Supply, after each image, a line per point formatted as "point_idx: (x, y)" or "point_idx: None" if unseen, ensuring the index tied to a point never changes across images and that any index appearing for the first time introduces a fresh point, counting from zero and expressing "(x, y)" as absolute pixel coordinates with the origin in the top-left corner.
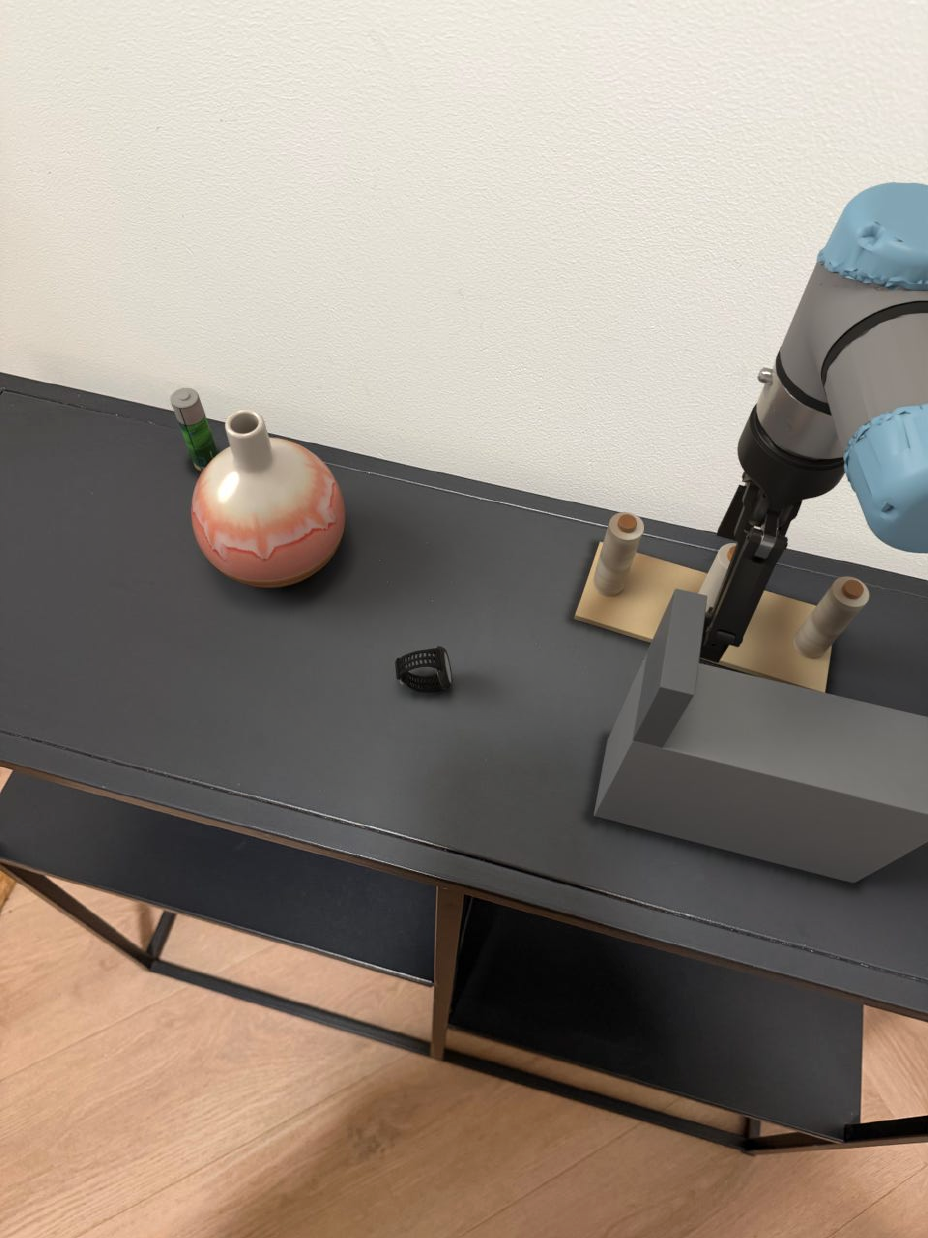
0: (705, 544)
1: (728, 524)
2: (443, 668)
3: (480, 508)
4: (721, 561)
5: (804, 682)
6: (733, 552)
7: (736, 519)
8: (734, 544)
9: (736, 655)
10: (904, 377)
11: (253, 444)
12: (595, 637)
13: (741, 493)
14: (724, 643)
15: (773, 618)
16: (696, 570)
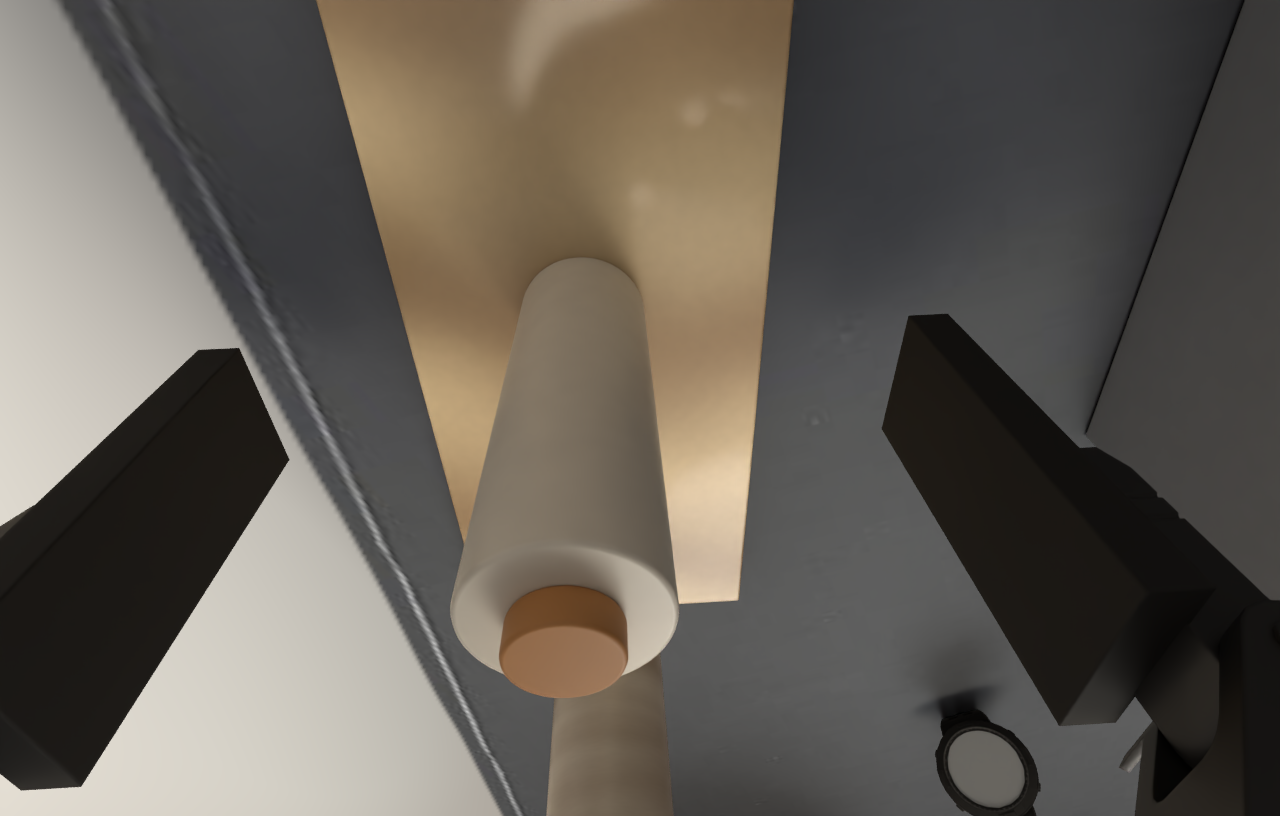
0: (276, 366)
1: (235, 505)
2: (1026, 805)
3: (524, 767)
4: (636, 667)
5: None
6: (572, 680)
7: (195, 523)
8: (476, 648)
9: (735, 164)
10: None
11: None
12: (772, 533)
13: (77, 755)
14: (1184, 524)
15: (475, 35)
16: (423, 386)
